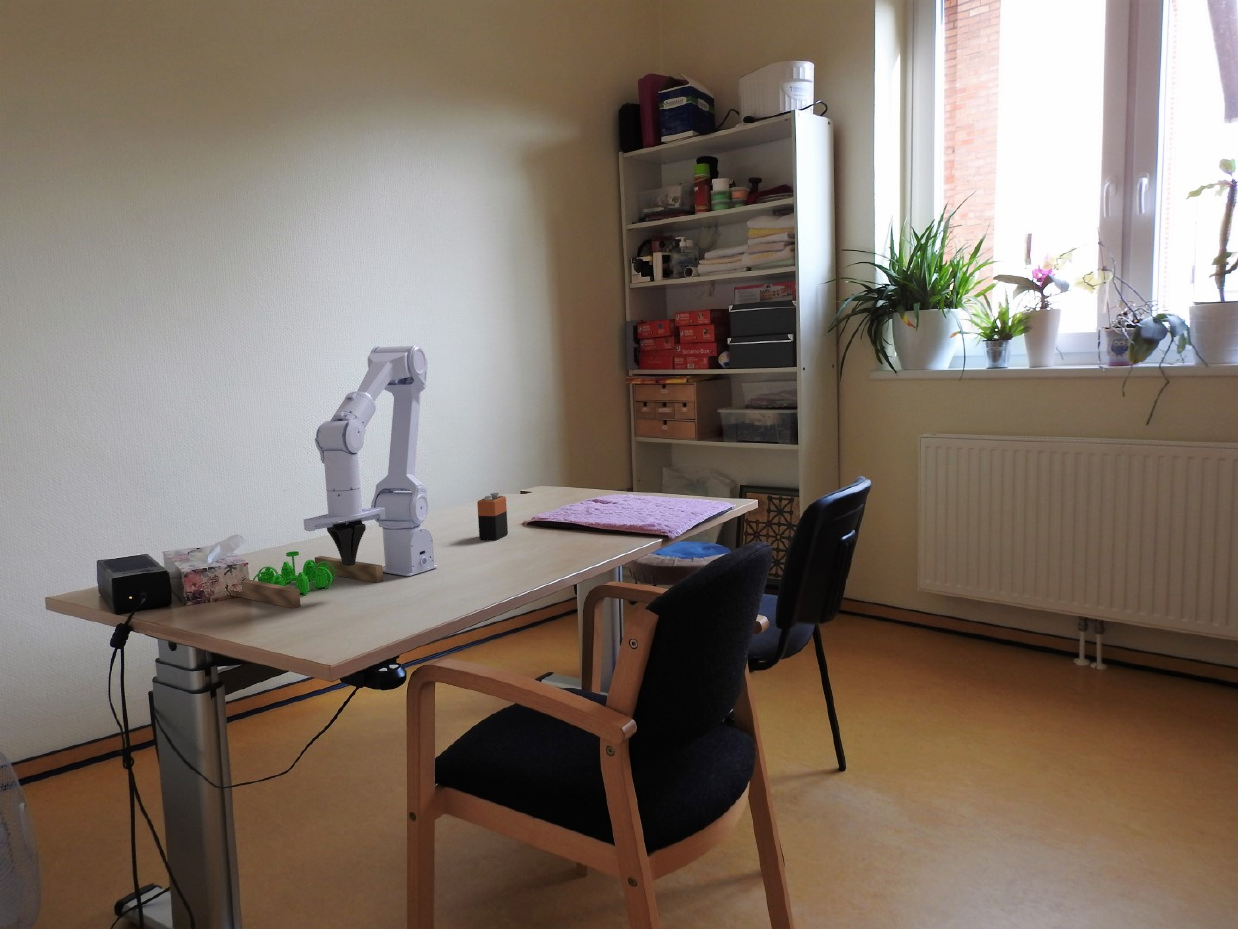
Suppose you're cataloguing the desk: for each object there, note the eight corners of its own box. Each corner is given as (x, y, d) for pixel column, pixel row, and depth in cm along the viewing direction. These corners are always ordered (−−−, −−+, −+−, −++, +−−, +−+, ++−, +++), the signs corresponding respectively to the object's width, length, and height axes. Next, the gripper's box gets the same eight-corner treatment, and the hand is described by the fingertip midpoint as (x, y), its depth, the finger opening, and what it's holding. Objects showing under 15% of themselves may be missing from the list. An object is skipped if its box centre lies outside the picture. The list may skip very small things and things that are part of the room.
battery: (508, 534, 209) (506, 492, 207) (496, 541, 202) (493, 497, 201) (491, 534, 210) (489, 491, 209) (478, 540, 204) (476, 496, 202)
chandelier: (352, 579, 174) (349, 543, 173) (311, 601, 159) (308, 563, 158) (281, 578, 176) (278, 543, 175) (235, 599, 162) (231, 562, 161)
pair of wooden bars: (383, 580, 170) (382, 565, 170) (293, 608, 154) (291, 591, 153) (321, 570, 180) (320, 555, 180) (230, 595, 164) (229, 579, 163)
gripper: (369, 481, 166) (374, 554, 167) (293, 492, 156) (299, 569, 157) (389, 484, 161) (394, 559, 162) (312, 496, 151) (318, 575, 152)
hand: (348, 564), depth 160 cm, fingers closed
